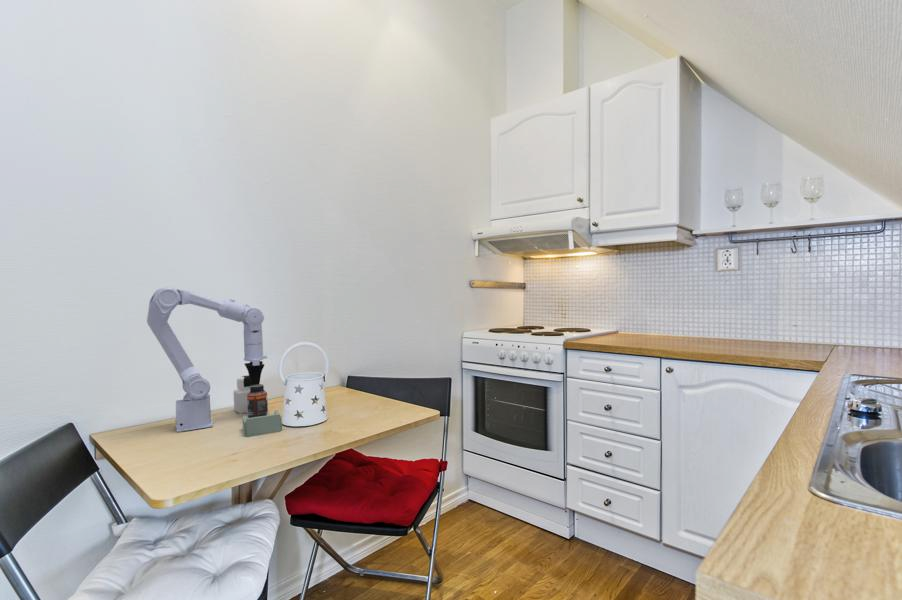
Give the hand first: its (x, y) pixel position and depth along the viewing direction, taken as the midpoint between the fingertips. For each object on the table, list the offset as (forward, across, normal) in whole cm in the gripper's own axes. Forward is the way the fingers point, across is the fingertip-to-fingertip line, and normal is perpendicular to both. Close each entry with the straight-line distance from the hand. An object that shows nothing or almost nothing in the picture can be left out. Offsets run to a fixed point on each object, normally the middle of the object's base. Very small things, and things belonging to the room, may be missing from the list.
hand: (255, 384), depth 150 cm
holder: (+10, -19, 0) cm, 22 cm away
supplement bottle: (+11, -7, 0) cm, 13 cm away
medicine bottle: (+11, +10, +2) cm, 15 cm away
